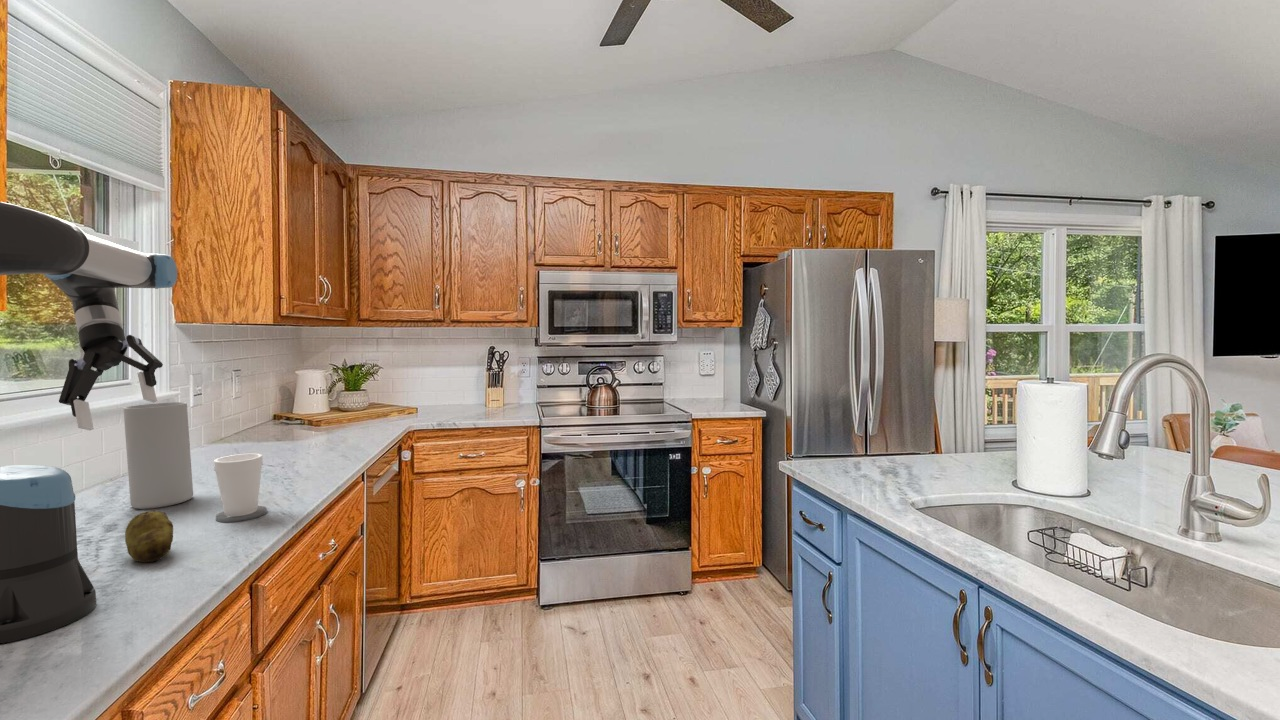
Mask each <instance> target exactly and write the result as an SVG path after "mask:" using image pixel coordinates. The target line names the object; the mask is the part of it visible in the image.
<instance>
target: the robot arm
mask: <svg viewBox="0 0 1280 720" xmlns="http://www.w3.org/2000/svg"><path fill="white" fill-rule="evenodd" d="M27 274H28V275H30V274H32V275H36V274H37V275H41V274H42V275H43V276H45V277H46V278H47V279H48V280H50V282H52V283H53V284H54V285H55V286H57V288H58V289H59V290H60V291H62V293H63V294H64V295H66V296H67V298H69V299H70V302H71V304H72V309H73V313H74V319H75V320H74V321H75V325H76V331H77V333H78V334H77V335H78V339H79V346H80V347H81V349H82V351H83V356H82V358H79V359H74V358H70V359H69V360H68V371H67V374H66V378H65V381H64V383H63V386H62V390H61V393H60V395H59V399H58V403H59V404H63V405H67V406H70V408H71V413H72V416H73V417H74V418H76V422H77V423H76V424H77V427H78V429H82V430H86V431H92V430H94V423H93V419H92V414H91V409H90V404H89V403H90V402H88V401H86V400H87V397H88V395H89V394H90V392H91V391H92V388H93V387H94V385H95V383H96V382H97V379H98V378H99V377H100V376H102V375H103V374H104V371H108V370H110V369H111V368H112V367H117V366H119V365H120V364H121V362H123V363H125V364H127V365H130V366H131V367H133V368H135V369H138V370H140V372H137V377H138V382H139V385H140V390H141V394H142V399H143V400H144V401H147V402H151V403H152V404H155V403H156V402H158V399H157V398H158V397H157V394H156V390H155V386H156V385H157V378H156V375H155V373H156V370H157V369H161V368H162V367H163V365H164V364H163V362H161V361H160V360H159V359H158V358H157V357H156V356H155V355H154V354H153V353H152V352H150V351H149V350H148V349H147V348H146V347H145V346H144V344H143V342H142V339H141V338H139V337H136V336H133V335H132V334H128V335H125V331H124V328H123V323H122V319H121V315H120V314H121V313H120V310H119V305H118V301H117V299H118V298H117V297H116V289H118V288H120V289H122V288H124V289H126V288H127V289H155V290H156V289H157V290H158V289H169V288H172V287H174V286H175V285H176V283H177V279H178V266H177V264H176V261H175V259H174V258H173V257H172V256H171V255H169V254H163V253H157V252H154V253H145V252H140V251H138V250H134V249H131V248H129V247H125V246H122V245H120V244H116V243H114V242H111V241H109V240H105V239H102V238H99V237H96V236H94V235H90V234H87V233H85V232H84V231H83V230H82V229H81V228H80V226H77V225H76V224H74V223H73V222H70V221H68V220H65V219H63V218H59V217H56V216H54V215H51V214H47V213H44V212H41V211H37V210H34V209H31V208H26V207H24V206H20V205H16V204H14V203H7V202H5V201H4V202H3V201H0V276H10V275H11V276H12V275H27ZM129 348H131V349H132V350H133V351H134V352H135V353H136V354H137V355H138V356H140V357H141V358H142V359H143V360H144V361H145V362H146V363H147V364H145V363H142V362H140V361H139V360H136V359H134V358H132V357H131V356H128V355H126V352H127V350H128V349H129ZM92 368H94V369H96V370H93V369H92ZM75 501H76V494H75V492H74V487H73V481H72V478H71V475H70V474H69V473H68V471H67V470H64V469H62V468H59V467H56V466H49V465H42V464H41V465H39V464H10V465H5V466H4V465H3V466H0V643H2V644H6V642H7V643H12V642H16V641H19V640H23V639H27V638H32V637H35V636H39V635H43V634H45V633H48V632H50V631H54V630H57V629H60V628H62V627H64V626H66V625H67V626H68V625H69V624H71V623H73V622H76V621H77V620H79V619H81V618H83V617H85V616H86V615H88V614H89V613H91V612H92V611H93V610H94V609H95V608H96V606H97V592H96V589H95V586H94V585H93V583H92V581H91V580H90V579H89V577H88V575H87V573H86V571H85V569H84V567H82V566H83V565H82V564H81V563H80V562H81V561H79V554H78V552H79V551H78V536H77V520H76V504H75Z"/></svg>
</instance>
